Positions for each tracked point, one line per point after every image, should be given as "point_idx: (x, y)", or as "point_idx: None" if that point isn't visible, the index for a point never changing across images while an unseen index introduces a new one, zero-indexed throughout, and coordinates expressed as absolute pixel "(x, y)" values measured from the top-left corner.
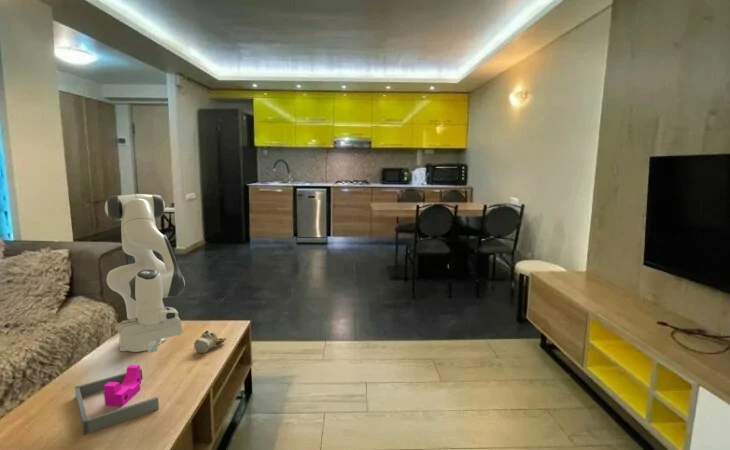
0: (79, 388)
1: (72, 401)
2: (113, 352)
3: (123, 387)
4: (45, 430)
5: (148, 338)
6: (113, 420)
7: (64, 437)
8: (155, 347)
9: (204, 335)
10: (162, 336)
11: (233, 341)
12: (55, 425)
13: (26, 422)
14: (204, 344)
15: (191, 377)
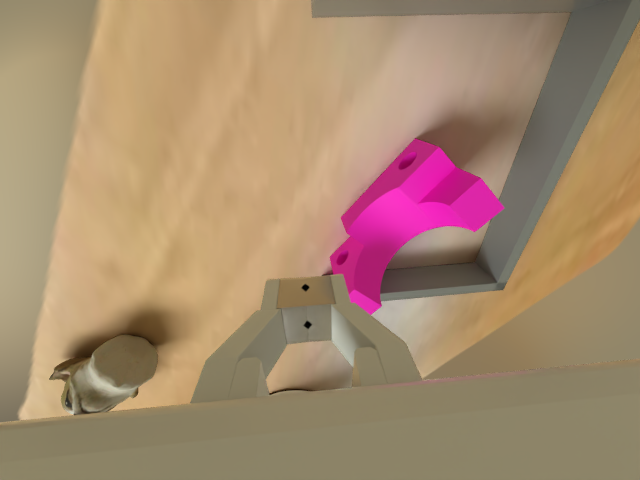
0: (501, 275)
1: None
2: None
3: (396, 228)
4: (621, 131)
5: (410, 472)
6: None
7: None
8: (280, 304)
9: (93, 402)
10: (99, 468)
11: (34, 361)
12: (591, 144)
13: (609, 210)
14: (105, 361)
15: (165, 206)
